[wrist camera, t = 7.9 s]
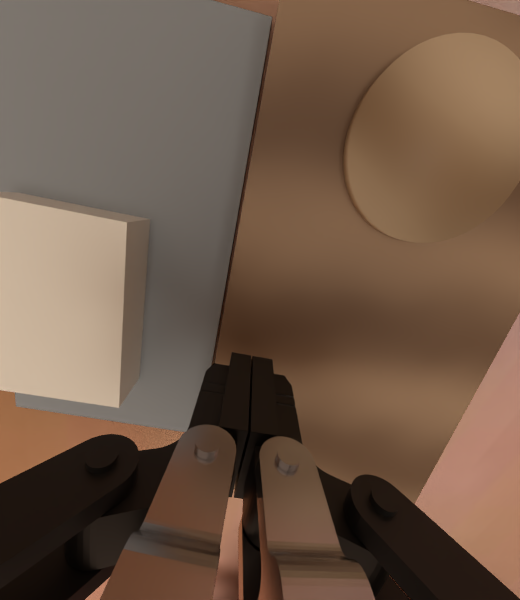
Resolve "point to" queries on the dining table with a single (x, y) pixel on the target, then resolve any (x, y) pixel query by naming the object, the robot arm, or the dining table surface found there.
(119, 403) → the card box
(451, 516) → the dining table surface
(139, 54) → the mat
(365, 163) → the coaster
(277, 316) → the board
